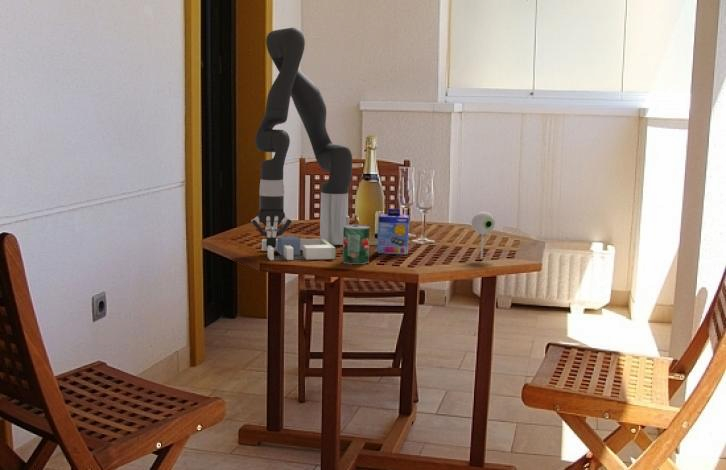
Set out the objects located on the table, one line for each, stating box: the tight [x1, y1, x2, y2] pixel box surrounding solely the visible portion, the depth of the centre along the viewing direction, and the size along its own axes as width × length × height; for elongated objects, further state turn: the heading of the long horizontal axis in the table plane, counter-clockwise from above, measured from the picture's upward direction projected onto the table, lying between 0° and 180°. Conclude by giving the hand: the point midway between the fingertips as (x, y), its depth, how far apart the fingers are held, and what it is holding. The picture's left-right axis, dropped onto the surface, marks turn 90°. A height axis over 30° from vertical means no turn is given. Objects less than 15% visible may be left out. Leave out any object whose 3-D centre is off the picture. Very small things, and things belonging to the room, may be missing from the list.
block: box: [276, 235, 301, 256], centre depth 290 cm, size 6×6×5 cm
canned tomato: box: [342, 223, 371, 265], centre depth 277 cm, size 8×8×11 cm
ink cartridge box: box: [377, 208, 410, 256], centre depth 295 cm, size 10×6×14 cm, turn 87°
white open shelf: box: [261, 238, 336, 261], centre depth 288 cm, size 20×18×4 cm
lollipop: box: [471, 211, 496, 260], centre depth 288 cm, size 7×7×15 cm
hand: (270, 249), depth 288 cm, fingers closed
